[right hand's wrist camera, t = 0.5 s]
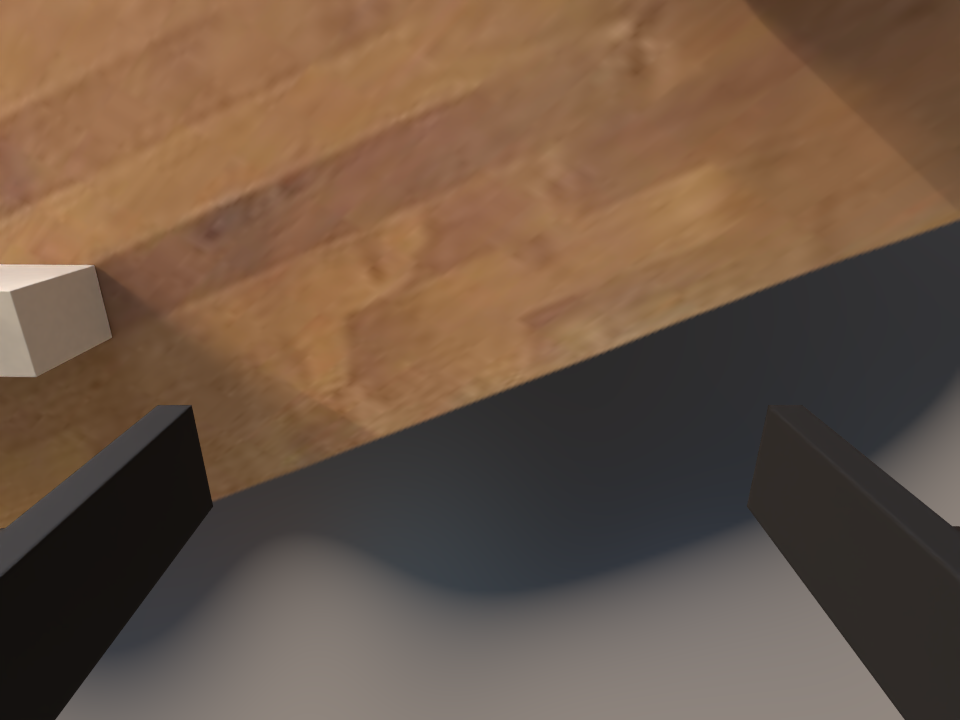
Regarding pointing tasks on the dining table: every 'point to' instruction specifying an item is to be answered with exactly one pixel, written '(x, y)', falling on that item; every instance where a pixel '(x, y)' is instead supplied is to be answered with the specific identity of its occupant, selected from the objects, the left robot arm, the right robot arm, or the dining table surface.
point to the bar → (48, 316)
